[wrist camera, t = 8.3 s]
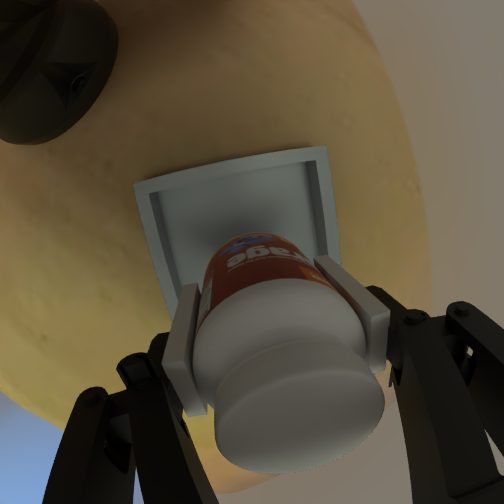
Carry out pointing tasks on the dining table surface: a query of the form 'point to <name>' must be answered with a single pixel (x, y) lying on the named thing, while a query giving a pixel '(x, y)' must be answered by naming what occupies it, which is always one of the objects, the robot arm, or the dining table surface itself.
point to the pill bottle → (281, 359)
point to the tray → (236, 211)
